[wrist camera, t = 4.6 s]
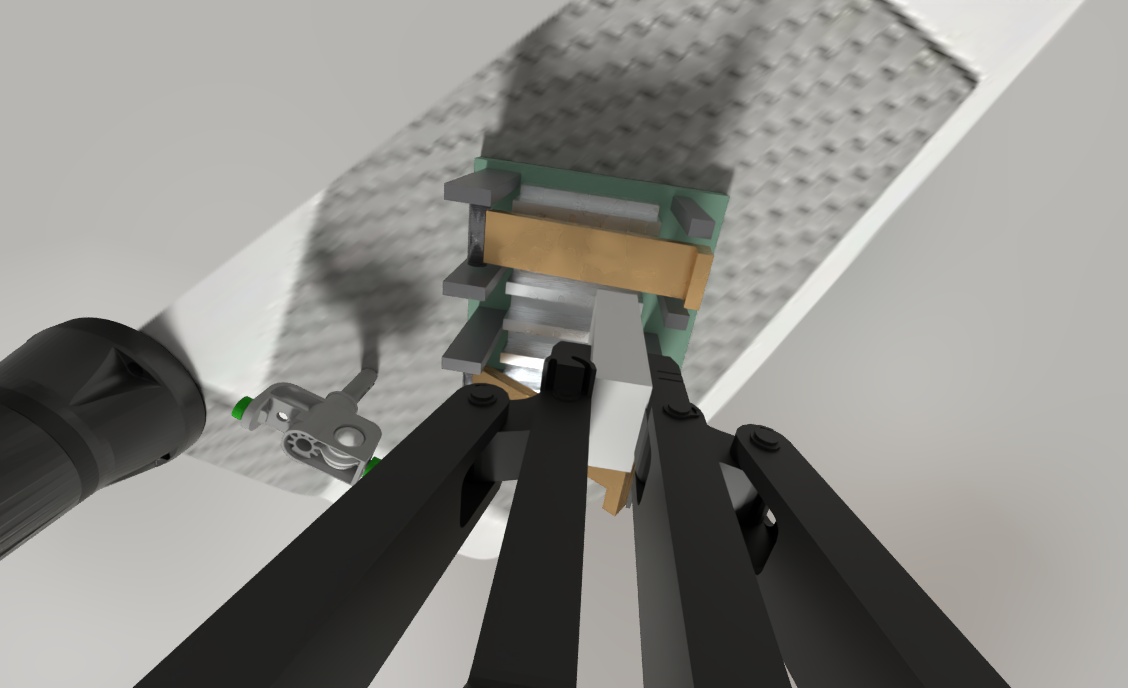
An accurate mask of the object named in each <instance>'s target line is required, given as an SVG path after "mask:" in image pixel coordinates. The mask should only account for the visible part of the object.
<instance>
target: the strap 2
mask: <svg viewBox="0 0 1128 688" xmlns="http://www.w3.org/2000/svg"><path fill="white" fill-rule="evenodd" d="M473 383H488V384H493V385H496V386H498V387H501V388H503V389H504V390H505V391H506V392H507V393H508V395H509V398H510V400H517V399H525V398H529V397H532V396H534V395H536V394H538V392H536V391H534V390H532V389H530V388H529V387H527V386H525V385H523V384H521V383H519V382H518V381H516V380H514V379H512V378H510V377H509V376H507V375H505V374H503V373H501V372H499V371H498V370H496V369H494V368H492V367H490V366H489V365H487V364H486V365H485V367H484V369H483V371H482V373H481V375H478V374H471V373H465V372H463V384H462V387H463V386H465V385H469V384H473ZM634 473H635V458H634V462H633V465H632V469H631V473H630V472H624V471H618V470H612V469H605V468H599V467H593V466H588V475H587V477H589V478H591V479H592V480H594V481H595V482H597V483H599V484H600V485H602V486H603V487H605V488H607V490H606V494H605V499H604V503H603V507H602V508H603V509H604V510H606V511H607V512H609V513H611V514H612V515H614V516H616V515H617V514H618V513H619V511H620V510H621V509H622V508H623V507H624V506H625V505H626V504H627V500H628V496H629V492H630V488H631V485H632V481H633V477H634Z"/></svg>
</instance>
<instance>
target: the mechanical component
mask: <svg viewBox="0 0 1128 688" xmlns="http://www.w3.org/2000/svg"><path fill="white" fill-rule="evenodd" d="M376 378H377V374H376V372H375V371H374V370H372V369H368V368H367V369H364V370H362V371H361V372H360V373H359V374H358V375H357V376H356V377H355V378H354V379H353V380H352V381H351V382H350V383H349V384H348V385H347V386H346V387H345V388H344V389H343V390H342V391H335V392H331V393H330V394H328V395H327V397H326V399H324V398H322V397H320V396H318V395H316V394H313V393H311V392H309V391H307V390H305V389H303V388H301V387H299V386H297V385H294V384H291V383H283V382H282V383H276V384H273V385H271V386H270V387H269V388H267V389H266V390H265V391H263V392H262V393H261V394H260V395H258V396H257V397H256V398H255V399H252V398H250V397H248V396H246V397H244V398H242V399H241V400H240V401H239V402H238V403H237V404H236V406H235V407H234V409H233V411H232V416H233V417H235V418H237V419H239V420H241V423H240V424H241V426H242V427H244V428H246V429H248V430H251V431H252V430H254V429H256V428H257V427H258V426H260V425H261V424H266V425H269V426H271V427H273V428H275V429H277V430H279V431H281V432H283V433H284V435H283V438H282V441H281V444H280V445H281V448H282V450H283V451H284V453H285V454H286V455H287V456H288V457H289V458H291V459H292V460H294V461H296V462H298V463H301V464H306V465H308V466H310V467H312V468H314V469H316V470H319V471H321V472H323V473H325V474H327V475H329V476H332V477H334V478H336V479H338V480H340V481H343V482H345V483H347V484H349V485H351V486H353V485H354V484H356V483H357V482H358V481H359V479H360V478H361V477H363V476H364V475H365V474H366V473H368V472H369V471H370V470H371V469H372V468H373V467H374V466H375V465H376V464H377V463H378V462H380V461H381V459H379V458H376V457H373V458H372V456H373V453H374V451H375V449H376V447H377V445H378V443H379V440H380V438H381V435H382V433H381V429H380V428H379V427H378V425H376V424H375V423H373V422H371V421H369V420H367V419H365V418H363V417H361V416H359V415H357V410H358V407H357V403H358V402H359V401H360V399H361V398H362V397H363V396H364V395H365V394H366V393H367V392H368V391H369V390H370V389H371V387H372V386H373V385H374V384H375V383H374V381H375V380H376ZM279 412H282V413H284V414H286V416H287V417H288V419H287V420H286V419H283V418H281V417H280V415H279ZM371 458H372V460H371ZM327 463H328V464H329V465H328V464H327ZM331 466H332V467H331ZM333 467H335V468H333ZM336 468H339V469H336ZM362 475H363V476H362Z"/></svg>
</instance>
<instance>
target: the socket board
mask: <svg viewBox="0 0 1128 688" xmlns="http://www.w3.org/2000/svg"><path fill="white" fill-rule="evenodd" d="M484 168H490V169H496V170H503V171H510V172H516V173H521V183H520V186H519V187H518V188H516V189H515V190H513V191H512V192H511V193H509V194H508V195H506V196H505V197H503V198H502V199H501V200H499V201H498V202H496V203H495V204H494V205H492V206H491V209H497V210H502V211H508V212H512V204H513V200H514V199H515V198H516V197H517V196H519V195H520V191H521V184H523V183H524V182H530V183H536V184H543V185H550V186H556V187H563V188H569V189H576V190H582V191H589V192H596V193H602V194H609V195H615V196H622V197H629V198H635V199H642V200H648V201H655V202H658V203H659V205H660V208H659V213H658V216H659V218H660V220H661V222H662V224H661V229H660V233H659V236H654V237H660V238H665V239H671V240H677V241H683V242H689V243H694V244H700V245H706V246H710V248H711V250H712V253H713V254H714V250H715V247H716V243H717V240H718V236H719V233H720V229H721V225H722V222H723V218H724V215H725V211H726V208H727V204H728V201H729V196H728V195H726V194H725V193H718V192H711V191H705V190H698V189H692V188H685V187H678V186H672V185H665V184H658V183H652V182H645V181H639V180H632V179H625V178H619V177H612V176H605V175H599V174H592V173H586V172H579V171H572V170H566V169H559V168H552V167H546V166H539V165H533V164H526V163H519V162H513V161H506V160H499V159H493V158H486V157H477V158H475V160H474V172H476V171H479V170H482V169H484ZM673 196H680V197H686V198H692V199H693V200H694V201H695V202H696V203H697V204H698V205H699V206H700V207H701V208H702V209H703V210H704V211H705V212H706V213H707V214H708V215H709V216H710V217H711V218H712V219H713V220H714V221H715V222H716V224H715V227H714V231H713V234H712V238H711V240H710V239H703V238H697V237H690V236H687V234H686V233H685V231H684V230H683V228H682V227H681V225H680V224H679V222H678V220H677V219H676V217H675V216H674V214H673V213H672V211H671V210H670V208H671V204H672V199H673ZM513 271H514V268H511V267H509V268H508V269H507V271H506V272H505V274H504V275H503V276H502V278H501V279H500V281H499V282H498V283H497V285H496V286H495V288H494V289H493V291H492V292H491V293H490V295H489V296H488V298H487V299H486V300H485V301H479V300H473V299H469V302H468V320H469V319H470V317H471V316H472V315H473V313H474V312H475V310H476V309H477V308H478V306H482V307H488V308H494V309H500V310H507V311H508V309H509V307H510V306H511V296H512V295H511V294H505V292H506V282H507V280H508V279H509V277H510V276H511V274H512V273H513ZM642 298H643V303H644V304H643V309H642V313H641V315H640V316H641V322H642V327H643V332H648V333H654V334H658V337H659V342H660V346H661V351H662V355H663V356H670V357H671V358H672V359H673V360H674V361H675V362H676V363H677V364H678V365H679V368H680V371H681V367H682V363H683V360H684V356H685V353H686V349H687V346H688V342H689V339H690V335H691V332H692V328H693V325H694V321H695V317H696V314H697V310H693V309H687V310H688V313H689V315H690V318H689V321H688V325H687V328H686V331H684V330H677V329H671V328H665V327H664V323H663V319H662V315H661V311H660V307H659V303H658V299H657V295H656V294H652V293H646V292H642ZM508 331H509V330H504V331H503V333H502V334H501V336H500V338H499V340H498V342H497V344H496V346H495V348H494V350H493V352H492V354H491V356H490V358H489V359H488V361H487V363H486V364H487V365H489V366H490V367H492V368H497V369H503V370H504V369H505V365H506V363H501V362H500V354H501V351H502V349H503V347H504V344H505V342H506V340H507V338H508Z"/></svg>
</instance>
